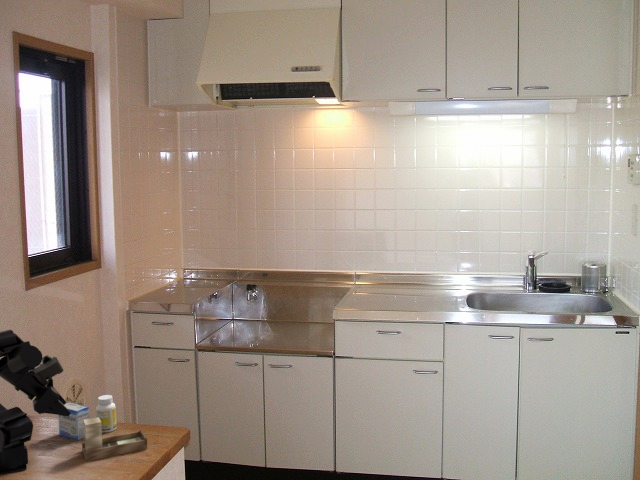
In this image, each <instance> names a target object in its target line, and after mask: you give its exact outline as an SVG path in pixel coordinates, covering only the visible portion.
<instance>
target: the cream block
mask: <svg viewBox="0 0 640 480" xmlns="http://www.w3.org/2000/svg"><path fill="white" fill-rule="evenodd" d="M83 423H84V438H83V440H84V441H85V450H86V451H88V450H94V449H99V448H103V447H102V438H103V435H102V434H103V432H102V429H101V421H100V419H99V417H97V416H96V417H92V418H91V417H90V418H89V419H85V420H83ZM84 441H83V442H84Z"/></svg>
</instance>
